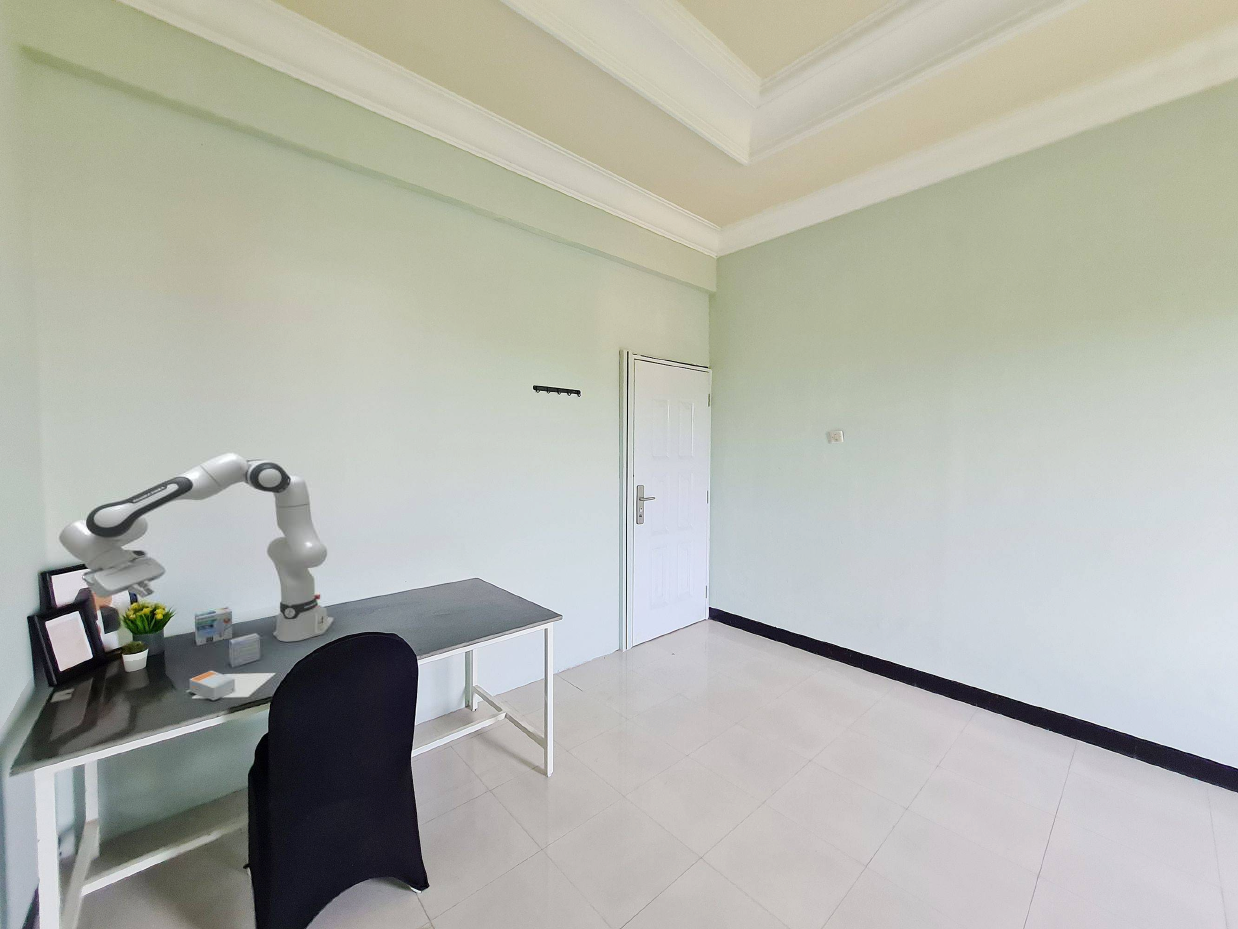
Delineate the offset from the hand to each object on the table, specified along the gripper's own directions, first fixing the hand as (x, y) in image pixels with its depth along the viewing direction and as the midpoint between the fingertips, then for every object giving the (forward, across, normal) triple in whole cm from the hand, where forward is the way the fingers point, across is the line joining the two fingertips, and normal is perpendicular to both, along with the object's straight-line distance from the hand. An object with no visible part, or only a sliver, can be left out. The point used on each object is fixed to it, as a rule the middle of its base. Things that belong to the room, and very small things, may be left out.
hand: (148, 594), depth 148 cm
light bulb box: (+17, +33, +24) cm, 45 cm away
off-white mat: (+39, -2, +2) cm, 39 cm away
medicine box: (+34, +14, +8) cm, 38 cm away
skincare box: (+30, -3, +8) cm, 31 cm away
